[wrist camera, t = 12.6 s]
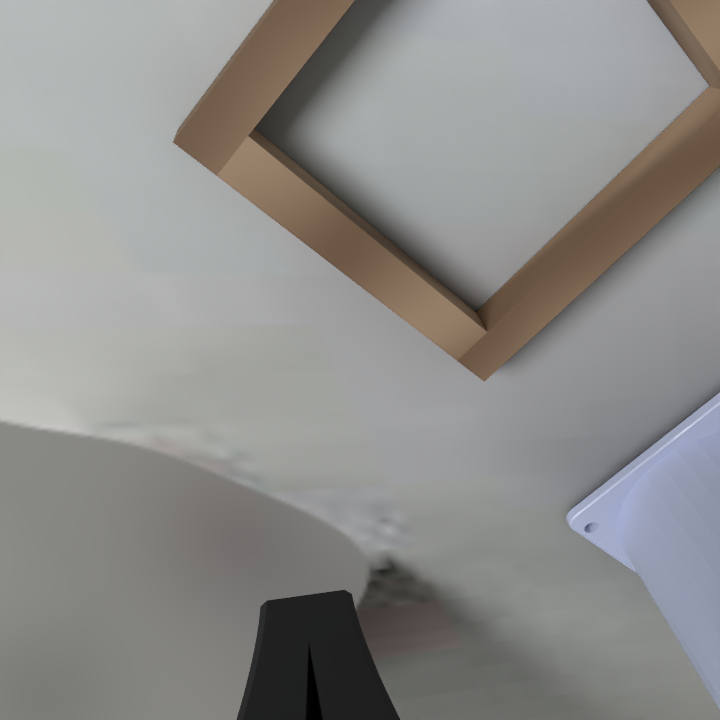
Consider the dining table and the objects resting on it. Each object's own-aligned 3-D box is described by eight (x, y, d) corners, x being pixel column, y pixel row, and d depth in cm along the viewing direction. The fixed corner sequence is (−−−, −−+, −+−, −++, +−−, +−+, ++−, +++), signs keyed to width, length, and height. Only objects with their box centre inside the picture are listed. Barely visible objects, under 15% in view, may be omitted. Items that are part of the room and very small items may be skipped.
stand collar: (771, 81, 18) (802, 89, 17) (473, 360, 21) (484, 381, 20) (505, -312, 13) (527, -333, 12) (178, 129, 17) (172, 142, 16)
